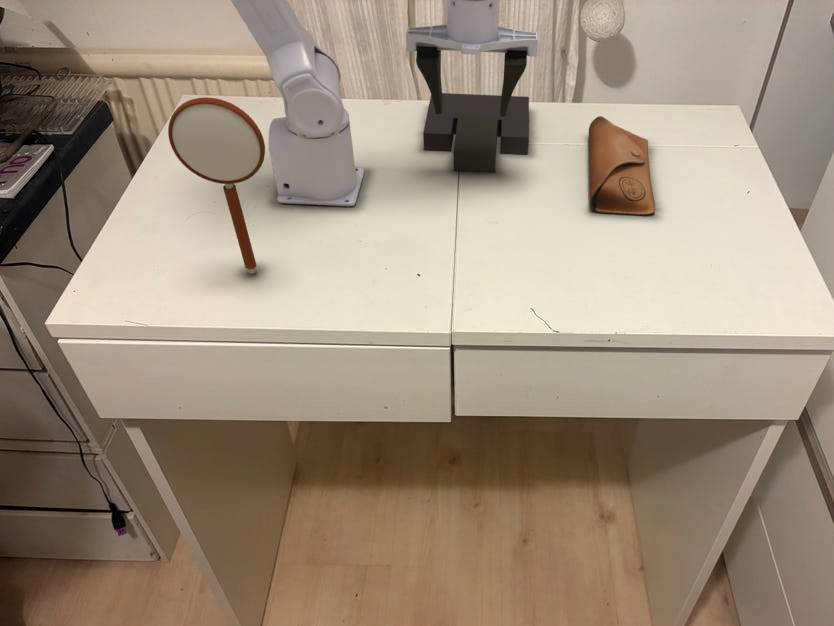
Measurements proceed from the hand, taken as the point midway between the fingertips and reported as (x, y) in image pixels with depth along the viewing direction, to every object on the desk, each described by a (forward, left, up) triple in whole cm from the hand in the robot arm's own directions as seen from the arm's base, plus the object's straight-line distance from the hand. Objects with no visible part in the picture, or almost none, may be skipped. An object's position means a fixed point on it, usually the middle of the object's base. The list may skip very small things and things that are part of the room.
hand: (471, 111), depth 85 cm
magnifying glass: (-23, -21, -9) cm, 32 cm away
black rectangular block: (+1, +6, -9) cm, 11 cm away
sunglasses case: (+19, +2, -9) cm, 21 cm away
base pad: (0, +12, -9) cm, 15 cm away
